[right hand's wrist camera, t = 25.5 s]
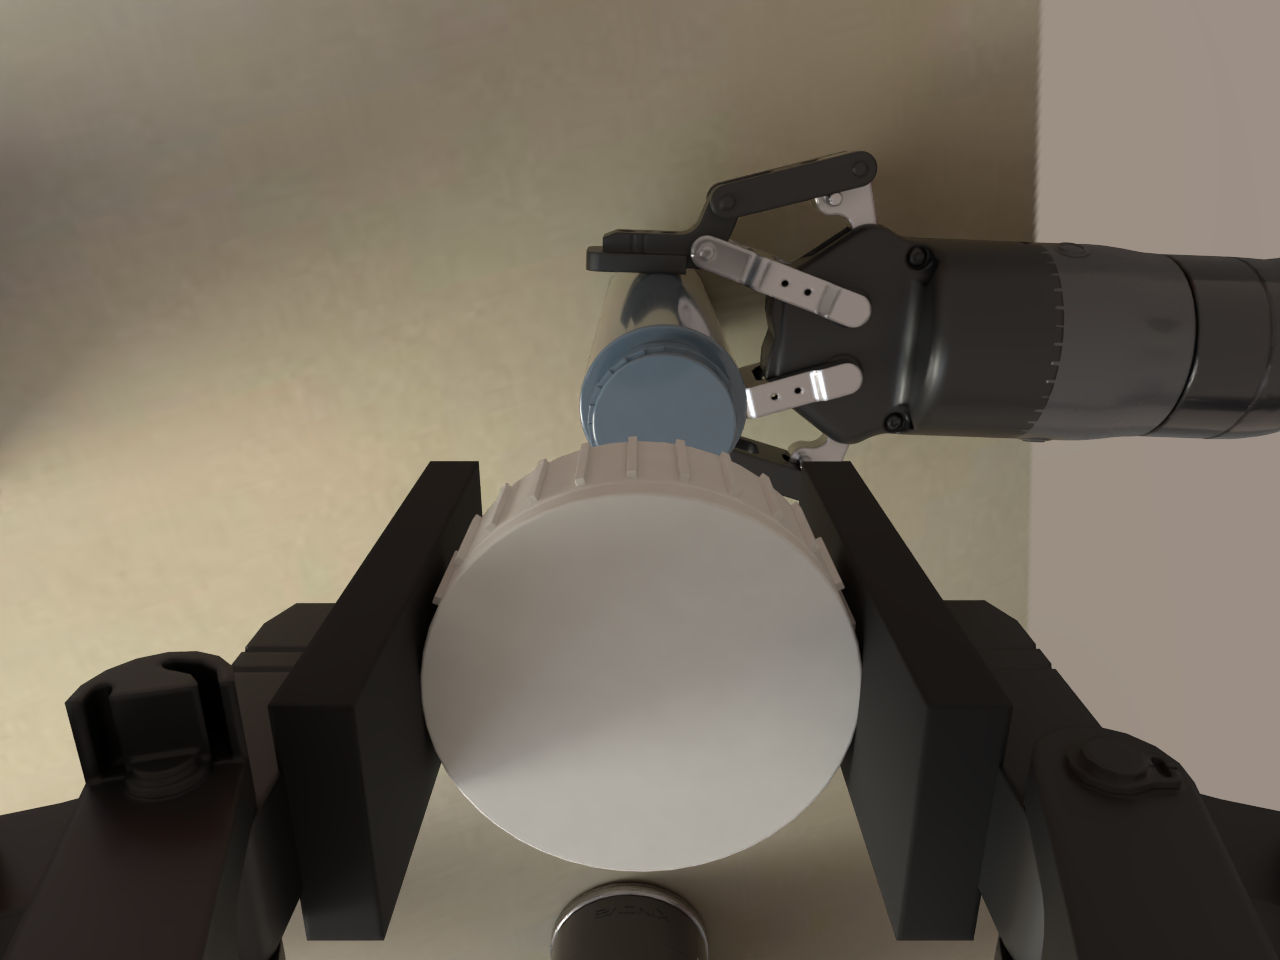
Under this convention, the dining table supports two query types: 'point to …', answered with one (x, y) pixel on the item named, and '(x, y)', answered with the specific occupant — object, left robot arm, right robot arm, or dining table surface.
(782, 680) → the lid
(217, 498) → the dining table surface
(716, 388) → the jar
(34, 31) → the dining table surface
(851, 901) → the dining table surface
